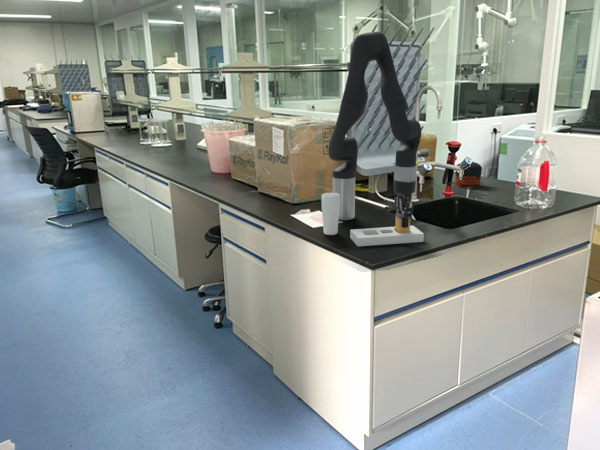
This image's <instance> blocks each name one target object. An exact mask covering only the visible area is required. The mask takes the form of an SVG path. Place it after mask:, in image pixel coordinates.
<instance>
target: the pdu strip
mask: <svg viewBox="0 0 600 450" xmlns="http://www.w3.org/2000/svg"><path fill="white" fill-rule="evenodd" d="M349 233H350V235H349V238H350V239H351V241H352V242H353V243H354V244H355V245H356V246H357V247H367V246H368V247H369V246H370V247H371V246H383V245H396V244H410V243H424V239H425V238H424V237H425V235H424V234H425V233H423V232H422V231H421V230H420V229H418V228H417V227H415V226H414V225H410V232H409V233H397V232H396V231H395V226H385V227H384V226H381V227H369V228H355V229H350V231H349Z"/></svg>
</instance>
